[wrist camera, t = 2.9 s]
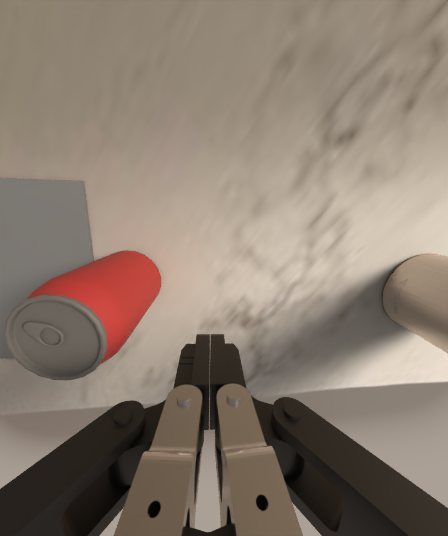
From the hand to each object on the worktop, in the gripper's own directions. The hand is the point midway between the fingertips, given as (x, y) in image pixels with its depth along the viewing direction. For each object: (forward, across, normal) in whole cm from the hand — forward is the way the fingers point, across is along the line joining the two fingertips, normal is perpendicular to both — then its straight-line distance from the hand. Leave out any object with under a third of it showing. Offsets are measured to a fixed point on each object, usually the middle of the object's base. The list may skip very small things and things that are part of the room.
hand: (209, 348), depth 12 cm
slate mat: (+13, +19, 0) cm, 23 cm away
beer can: (+13, +9, 0) cm, 16 cm away
